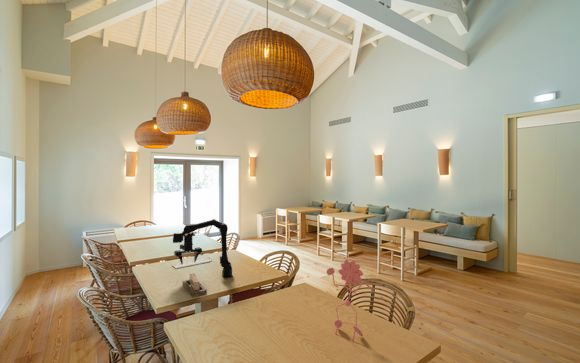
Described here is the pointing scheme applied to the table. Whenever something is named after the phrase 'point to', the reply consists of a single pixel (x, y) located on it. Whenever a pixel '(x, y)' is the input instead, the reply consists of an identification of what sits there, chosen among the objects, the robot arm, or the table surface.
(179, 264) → the baseboard molding
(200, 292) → the frame
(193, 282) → the clay strip
